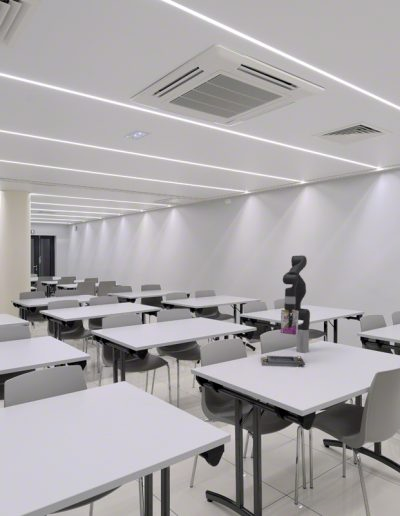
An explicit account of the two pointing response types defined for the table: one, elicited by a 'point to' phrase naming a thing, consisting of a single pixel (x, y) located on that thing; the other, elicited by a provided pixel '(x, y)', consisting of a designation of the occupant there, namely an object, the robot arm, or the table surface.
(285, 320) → the candy bar box
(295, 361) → the grey tray
